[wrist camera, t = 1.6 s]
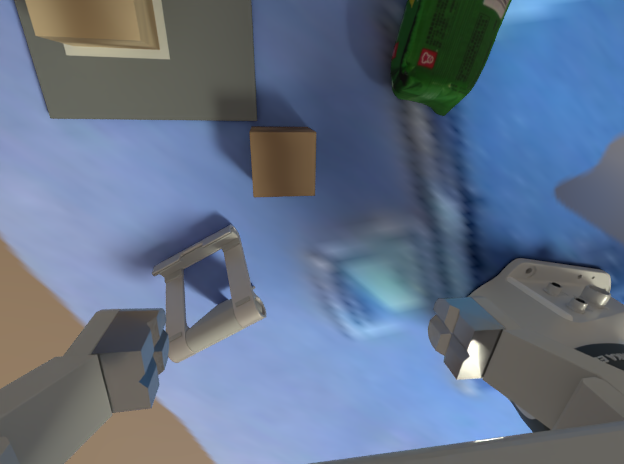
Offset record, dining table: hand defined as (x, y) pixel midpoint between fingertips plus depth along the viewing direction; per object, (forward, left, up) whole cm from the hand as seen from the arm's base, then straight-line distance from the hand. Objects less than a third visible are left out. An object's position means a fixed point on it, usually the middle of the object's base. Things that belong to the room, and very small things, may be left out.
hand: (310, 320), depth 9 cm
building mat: (+10, -11, -22) cm, 26 cm away
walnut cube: (0, -1, -22) cm, 22 cm away
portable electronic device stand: (+7, +11, -22) cm, 25 cm away
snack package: (-14, -13, -22) cm, 29 cm away
